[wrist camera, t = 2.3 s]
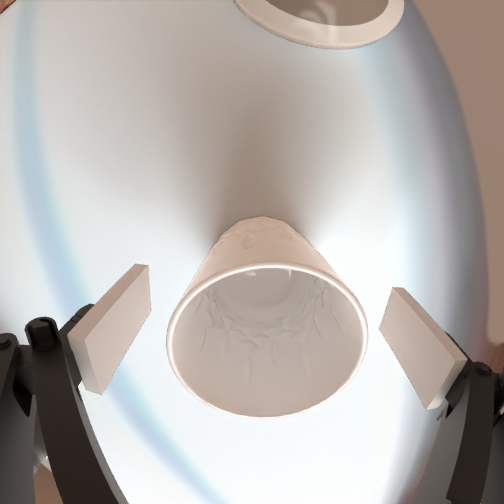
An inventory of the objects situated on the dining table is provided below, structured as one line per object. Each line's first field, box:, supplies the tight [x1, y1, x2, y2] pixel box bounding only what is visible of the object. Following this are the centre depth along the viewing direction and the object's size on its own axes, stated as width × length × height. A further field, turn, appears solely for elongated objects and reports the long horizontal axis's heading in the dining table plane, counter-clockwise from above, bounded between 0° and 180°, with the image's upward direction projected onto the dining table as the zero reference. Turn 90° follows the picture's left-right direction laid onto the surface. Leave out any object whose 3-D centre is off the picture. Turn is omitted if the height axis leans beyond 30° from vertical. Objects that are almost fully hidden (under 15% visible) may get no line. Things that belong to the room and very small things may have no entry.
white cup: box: [166, 216, 368, 419], centre depth 15 cm, size 8×8×10 cm
